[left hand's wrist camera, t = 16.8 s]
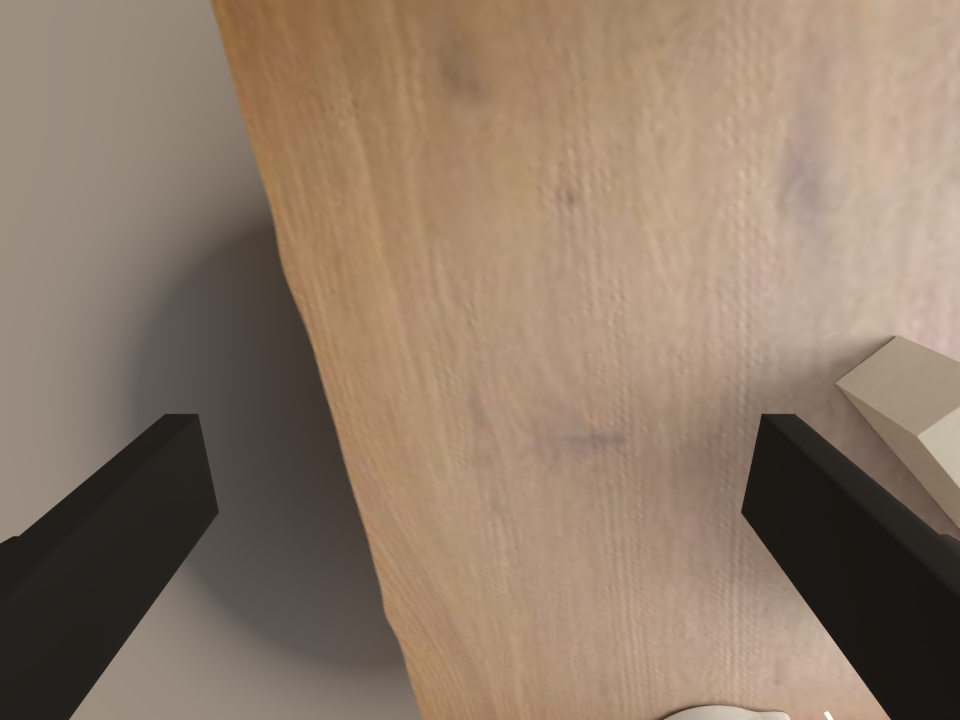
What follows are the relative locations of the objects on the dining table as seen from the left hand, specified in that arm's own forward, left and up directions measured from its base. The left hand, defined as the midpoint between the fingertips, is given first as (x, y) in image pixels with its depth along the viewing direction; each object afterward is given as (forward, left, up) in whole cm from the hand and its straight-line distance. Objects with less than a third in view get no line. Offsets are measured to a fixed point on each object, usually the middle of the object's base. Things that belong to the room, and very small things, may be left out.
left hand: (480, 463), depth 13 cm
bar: (+16, +37, -27) cm, 49 cm away
